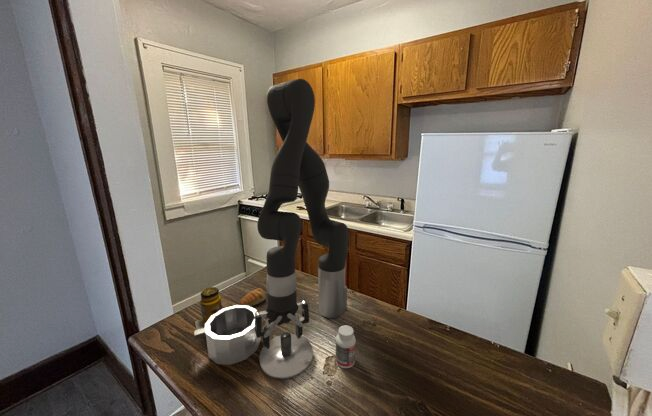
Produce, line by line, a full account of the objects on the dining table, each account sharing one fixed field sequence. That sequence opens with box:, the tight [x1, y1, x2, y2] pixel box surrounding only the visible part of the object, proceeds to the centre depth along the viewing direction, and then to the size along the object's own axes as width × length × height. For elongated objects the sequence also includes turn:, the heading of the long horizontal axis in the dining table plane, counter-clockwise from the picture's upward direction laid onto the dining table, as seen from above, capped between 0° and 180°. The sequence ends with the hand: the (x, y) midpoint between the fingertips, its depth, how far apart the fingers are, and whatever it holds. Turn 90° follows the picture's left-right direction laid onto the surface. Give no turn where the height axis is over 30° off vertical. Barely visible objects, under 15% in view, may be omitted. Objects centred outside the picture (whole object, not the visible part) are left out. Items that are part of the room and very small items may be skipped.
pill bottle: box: [334, 324, 357, 369], centre depth 67 cm, size 5×5×10 cm
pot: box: [193, 304, 268, 366], centre depth 73 cm, size 20×14×8 cm
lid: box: [259, 331, 314, 380], centre depth 68 cm, size 14×14×8 cm
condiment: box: [194, 286, 223, 330], centre depth 81 cm, size 7×8×12 cm
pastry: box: [239, 287, 267, 307], centre depth 94 cm, size 9×7×4 cm
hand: (283, 341), depth 68 cm, fingers open, 8 cm apart
